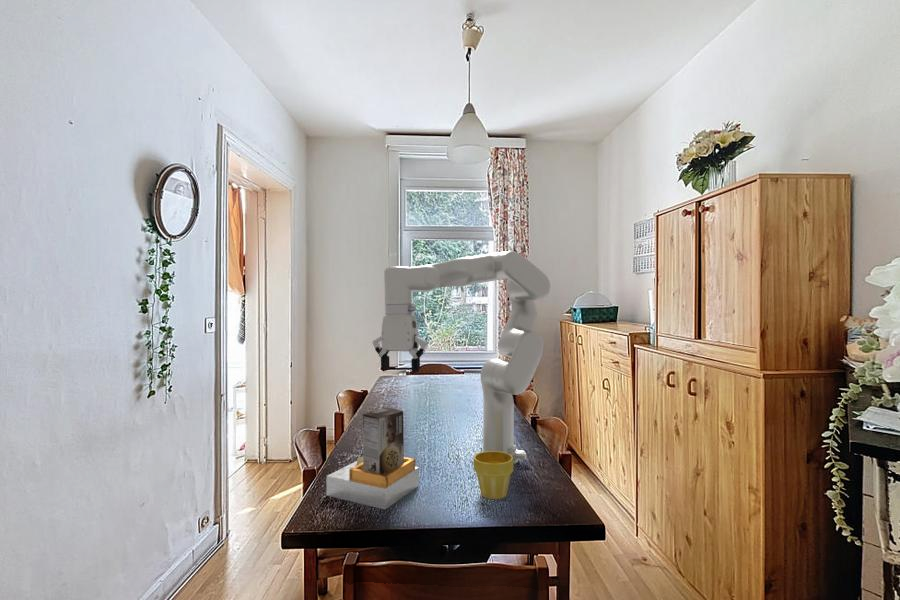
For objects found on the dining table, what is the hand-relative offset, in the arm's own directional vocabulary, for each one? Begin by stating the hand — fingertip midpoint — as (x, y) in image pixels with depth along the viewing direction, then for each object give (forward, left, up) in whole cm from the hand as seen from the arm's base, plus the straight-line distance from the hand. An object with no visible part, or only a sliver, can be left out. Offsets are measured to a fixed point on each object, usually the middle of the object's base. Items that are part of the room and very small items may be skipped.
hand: (400, 371), depth 133 cm
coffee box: (-1, +10, -25) cm, 27 cm away
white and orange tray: (+2, +10, -30) cm, 32 cm away
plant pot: (-27, -2, -30) cm, 41 cm away
